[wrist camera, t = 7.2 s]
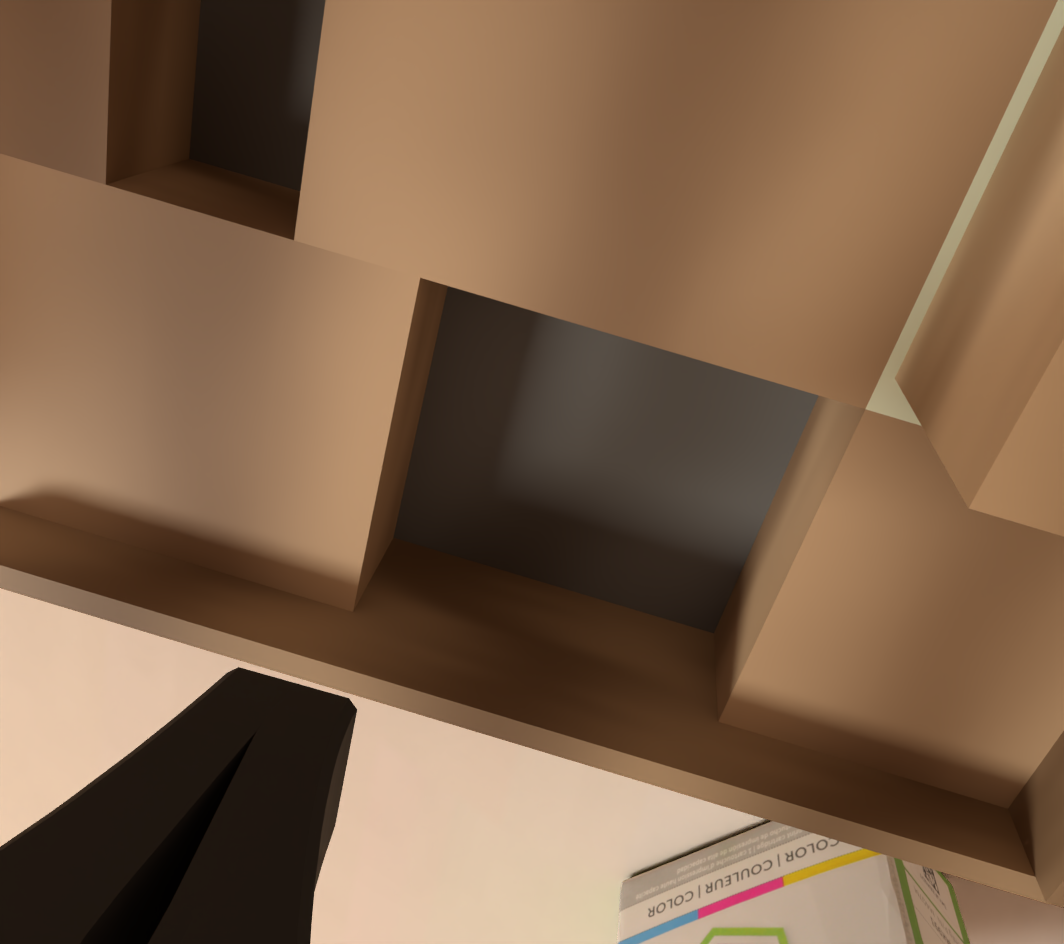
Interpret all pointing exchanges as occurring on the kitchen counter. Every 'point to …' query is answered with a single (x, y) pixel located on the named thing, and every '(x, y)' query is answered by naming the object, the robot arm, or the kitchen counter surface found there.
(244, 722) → the robot arm
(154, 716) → the kitchen counter surface
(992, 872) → the box
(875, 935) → the ink box
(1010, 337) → the maple block
